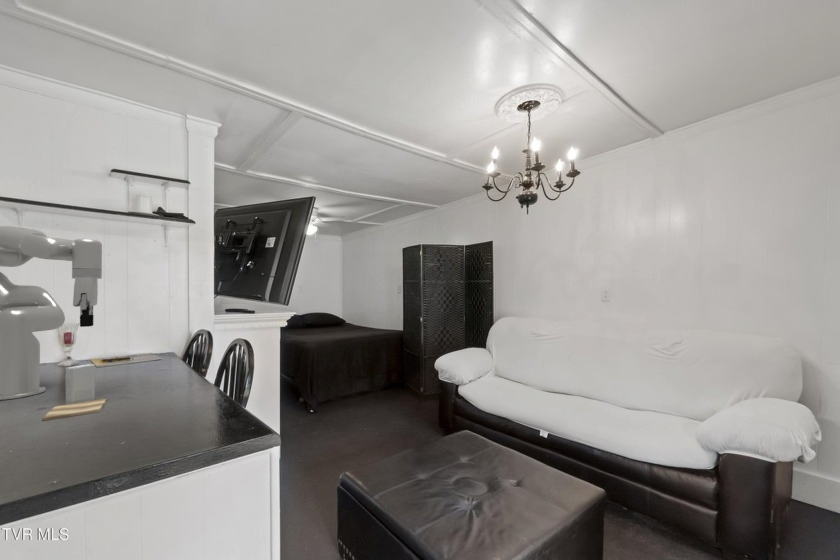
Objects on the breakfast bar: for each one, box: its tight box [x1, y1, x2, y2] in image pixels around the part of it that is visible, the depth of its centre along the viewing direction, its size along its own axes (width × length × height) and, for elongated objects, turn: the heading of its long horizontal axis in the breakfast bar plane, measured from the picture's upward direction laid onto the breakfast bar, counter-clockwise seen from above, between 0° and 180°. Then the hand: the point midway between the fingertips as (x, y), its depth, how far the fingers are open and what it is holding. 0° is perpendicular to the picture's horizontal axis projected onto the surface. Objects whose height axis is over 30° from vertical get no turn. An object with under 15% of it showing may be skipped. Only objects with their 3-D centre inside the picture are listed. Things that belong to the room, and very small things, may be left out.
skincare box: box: [65, 363, 96, 404], centre depth 113 cm, size 6×4×12 cm
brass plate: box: [41, 397, 108, 422], centre depth 105 cm, size 13×12×1 cm
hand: (86, 326), depth 120 cm, fingers closed
